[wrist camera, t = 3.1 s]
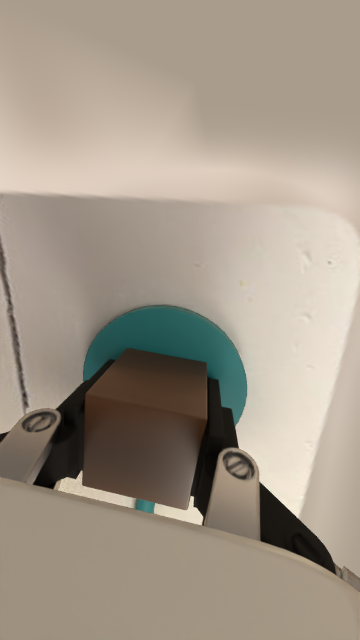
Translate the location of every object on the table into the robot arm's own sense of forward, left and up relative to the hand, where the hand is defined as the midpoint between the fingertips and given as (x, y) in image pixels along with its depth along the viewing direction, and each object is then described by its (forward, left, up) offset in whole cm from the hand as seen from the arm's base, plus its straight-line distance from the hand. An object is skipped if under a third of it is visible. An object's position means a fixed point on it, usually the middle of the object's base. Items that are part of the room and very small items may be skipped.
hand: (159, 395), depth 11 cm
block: (0, 0, -1) cm, 1 cm away
